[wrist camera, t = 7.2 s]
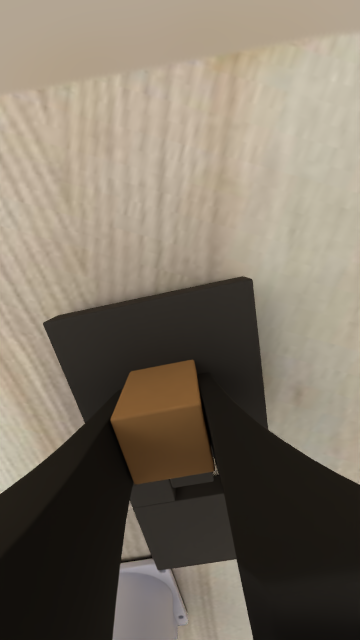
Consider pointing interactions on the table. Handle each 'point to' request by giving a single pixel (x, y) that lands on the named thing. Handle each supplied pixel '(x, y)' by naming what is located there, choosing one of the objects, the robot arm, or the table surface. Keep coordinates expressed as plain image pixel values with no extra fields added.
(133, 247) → the table surface
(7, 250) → the table surface
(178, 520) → the notch pad
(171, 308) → the tab pad
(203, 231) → the table surface
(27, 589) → the robot arm
